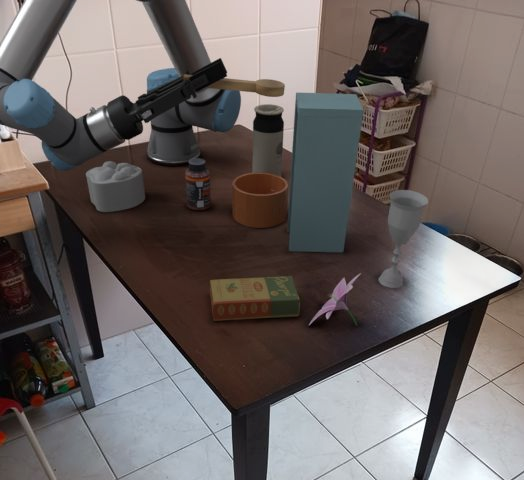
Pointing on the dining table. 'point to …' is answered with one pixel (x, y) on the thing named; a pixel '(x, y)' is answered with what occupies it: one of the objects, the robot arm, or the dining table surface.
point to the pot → (259, 199)
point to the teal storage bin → (322, 170)
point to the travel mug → (268, 139)
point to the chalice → (402, 229)
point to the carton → (254, 298)
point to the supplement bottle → (198, 185)
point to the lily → (337, 299)
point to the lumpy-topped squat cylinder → (115, 186)
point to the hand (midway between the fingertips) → (223, 67)
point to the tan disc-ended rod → (249, 86)
